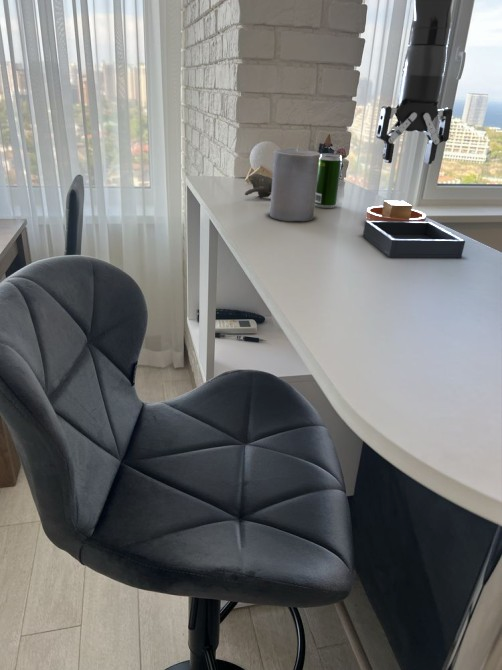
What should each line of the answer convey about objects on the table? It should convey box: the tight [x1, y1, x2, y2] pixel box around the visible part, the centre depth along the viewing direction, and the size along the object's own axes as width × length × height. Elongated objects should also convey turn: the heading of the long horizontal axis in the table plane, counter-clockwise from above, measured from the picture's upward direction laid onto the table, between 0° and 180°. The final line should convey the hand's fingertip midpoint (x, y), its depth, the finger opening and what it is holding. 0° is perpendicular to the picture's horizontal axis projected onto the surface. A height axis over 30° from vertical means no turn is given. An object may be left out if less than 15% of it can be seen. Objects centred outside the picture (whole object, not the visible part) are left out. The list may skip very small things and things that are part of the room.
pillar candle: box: [269, 144, 321, 222], centre depth 108 cm, size 10×10×15 cm
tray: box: [362, 220, 466, 259], centre depth 94 cm, size 14×14×3 cm
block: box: [382, 200, 413, 219], centre depth 107 cm, size 4×4×4 cm
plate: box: [364, 205, 427, 222], centre depth 108 cm, size 12×12×3 cm
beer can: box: [315, 152, 343, 209], centre depth 121 cm, size 5×5×12 cm
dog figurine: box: [244, 173, 272, 198], centre depth 127 cm, size 12×6×7 cm, turn 91°
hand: (407, 163), depth 103 cm, fingers open, 8 cm apart
